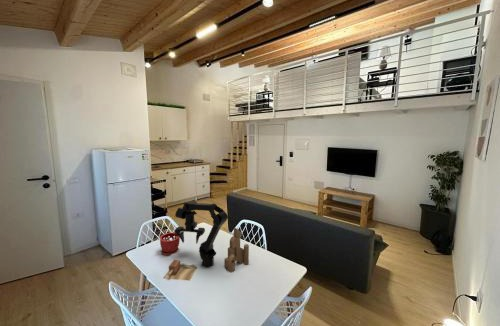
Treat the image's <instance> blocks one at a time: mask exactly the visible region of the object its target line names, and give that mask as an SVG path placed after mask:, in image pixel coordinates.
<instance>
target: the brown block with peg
mask: <svg viewBox="0 0 500 326" xmlns="http://www.w3.org/2000/svg"><path fill="white" fill-rule="evenodd" d="M180 263H181V259H173V261H171V263H170V264H169V265H168V271H169V273H168V276H169V278H170V275H176V274H177V273H178V271H179V270H180Z"/></svg>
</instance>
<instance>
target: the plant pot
mask: <svg viewBox="0 0 500 326" xmlns="http://www.w3.org/2000/svg"><path fill="white" fill-rule="evenodd" d="M170 238H171V240H170ZM180 241H181V239H180V237H179V236H178V235H177V234H175V232H167V233H164V234H162V235H161V236H160V237H159V243H160V244H159V245H160V248H161V253H162V254H163V255H164V256H171V255H173V254H176V253H177V252H178V251H179V249H180V248H179V245H180Z"/></svg>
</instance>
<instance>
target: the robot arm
mask: <svg viewBox="0 0 500 326" xmlns="http://www.w3.org/2000/svg"><path fill="white" fill-rule="evenodd" d="M197 211H206V212H207V211H208V213H209V214H210V217H211V218H212V219H213V220H212V223H213V225H212V227H211V230H210V231H209V234H208V236H207V238H206V240H205V241H203V242H202V243H200V245H199V247H198V249H199V250H198V252H199V257H200V259H201V262H202V263H201V265H202V267H205V268H212V267H213V266H214V263H215V256H216V254H217V251H215V249H214V242H215V240H216V238H217V236H218V234H219V231H221V227H222V226H223V225H224V224H225V223H226V222H227V221H228V218H229V216H228V214H227V212H226V211H225V210H224V209H223V208H221V207H220V206H218V205H217V204H216V203H215V202H213V203H207V202H206V203H205V202H203V203H201V202H197V201H196V200H190V201H187V202H184V203H183V206H182V207H178V208H177V210H176V211H175V213H174V215H175V217H176V218H178V219H181V220H185V221H184V226H185V227H184V226H177V227H176V228H175V229H174V233H175V234H177V235H178V236H179V237H180V241H181V242H182V244H184V243H185V232H186V233H196V235H195V244H198V243H199V239H200V238H201V236H203V235H204V234H205V232H206V229H205V228H204V227H198V221H195V215H197V214H198V212H197ZM216 213H217V214H216ZM196 227H197V228H196Z"/></svg>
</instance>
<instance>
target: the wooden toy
mask: <svg viewBox="0 0 500 326" xmlns="http://www.w3.org/2000/svg"><path fill="white" fill-rule="evenodd" d="M242 236H244V233H243V232H241V231H240V230H239V229H238V228H236V227H233V236H231V237H230V239H229V247H228V248H227V257H225V258H224V259H223V260H224V265H223V266H224V269H225V270H226V271H228V273H229V272H230V273H232V272H235V271H236V263H237V264H238V265H242V264H244V265H246V266H248V265H249V260H250V259H249V256H250V255H249V253H250V248H249V247H250V245H249V244H248V243H244V244H243V248H242V247H241V237H242Z"/></svg>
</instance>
